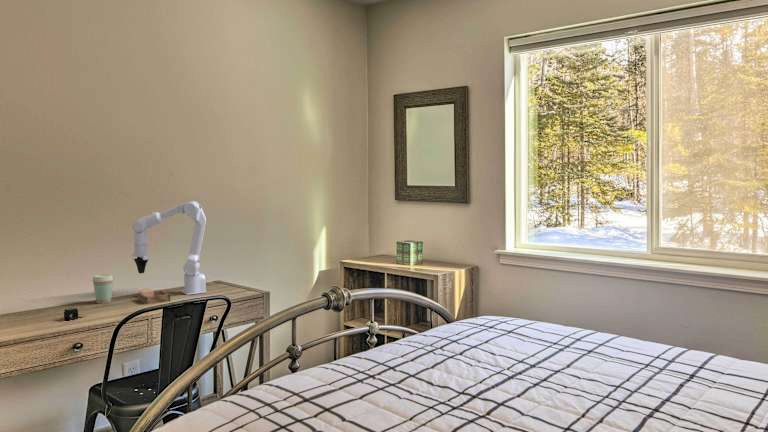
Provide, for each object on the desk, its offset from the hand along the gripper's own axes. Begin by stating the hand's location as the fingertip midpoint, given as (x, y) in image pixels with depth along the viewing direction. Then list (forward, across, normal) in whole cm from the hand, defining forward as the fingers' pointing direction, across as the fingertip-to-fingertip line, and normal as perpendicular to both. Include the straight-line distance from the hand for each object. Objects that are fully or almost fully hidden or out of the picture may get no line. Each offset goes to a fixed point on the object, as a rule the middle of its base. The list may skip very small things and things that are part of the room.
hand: (141, 273), depth 283 cm
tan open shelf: (+10, +17, 0) cm, 20 cm away
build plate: (+11, +31, -37) cm, 49 cm away
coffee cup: (+10, +8, -19) cm, 23 cm away
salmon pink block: (+10, +7, 0) cm, 12 cm away
